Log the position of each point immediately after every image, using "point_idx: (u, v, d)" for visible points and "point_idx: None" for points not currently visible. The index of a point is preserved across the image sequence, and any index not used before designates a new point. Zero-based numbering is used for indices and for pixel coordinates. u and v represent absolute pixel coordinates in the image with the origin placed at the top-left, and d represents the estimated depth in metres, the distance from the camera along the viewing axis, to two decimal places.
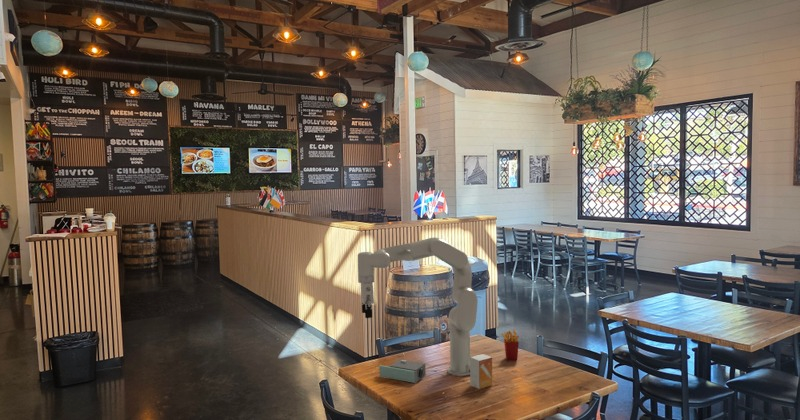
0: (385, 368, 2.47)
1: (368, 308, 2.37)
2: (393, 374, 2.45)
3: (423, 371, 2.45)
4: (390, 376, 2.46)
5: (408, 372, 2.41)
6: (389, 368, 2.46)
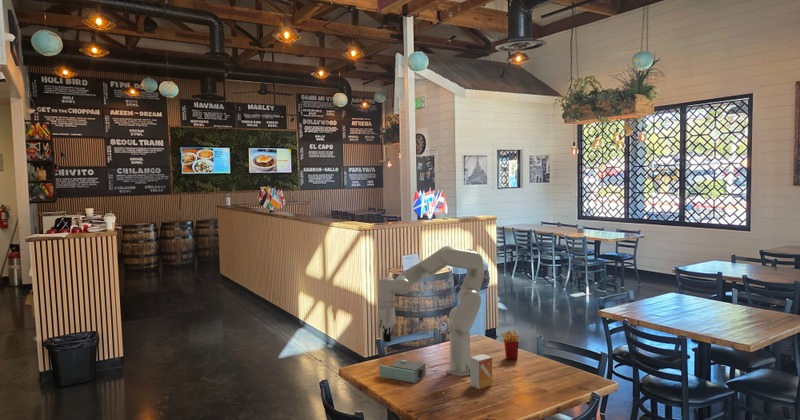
0: (385, 368, 2.47)
1: None
2: (393, 374, 2.45)
3: (423, 371, 2.45)
4: (390, 376, 2.46)
5: (408, 372, 2.41)
6: (389, 368, 2.46)
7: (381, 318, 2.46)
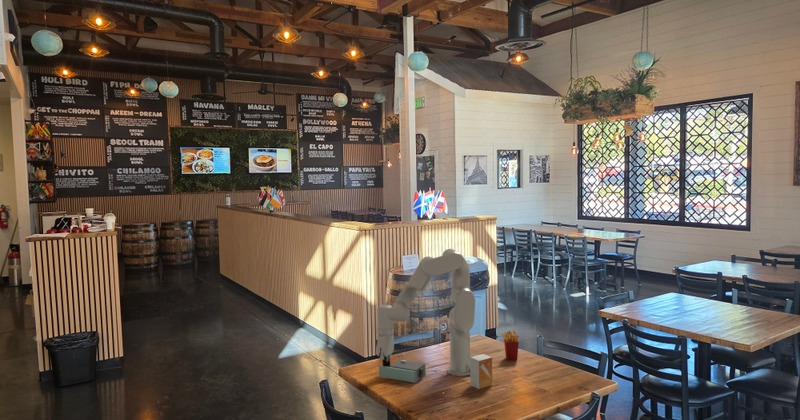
0: (385, 368, 2.47)
1: None
2: (393, 374, 2.45)
3: (423, 371, 2.45)
4: (390, 376, 2.46)
5: (408, 372, 2.41)
6: (389, 368, 2.46)
7: (381, 346, 2.45)
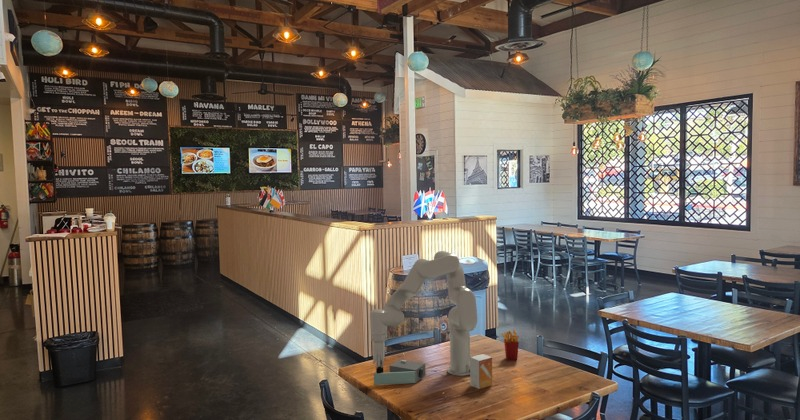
0: (381, 375, 2.39)
1: None
2: (390, 379, 2.39)
3: (423, 371, 2.45)
4: (387, 382, 2.39)
5: (408, 373, 2.40)
6: (386, 374, 2.39)
7: (378, 353, 2.36)
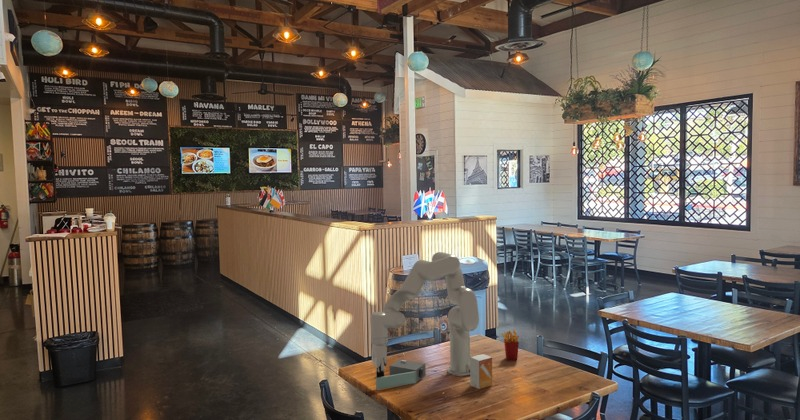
0: (383, 379, 2.34)
1: None
2: (392, 382, 2.36)
3: (423, 371, 2.45)
4: (389, 385, 2.35)
5: (408, 374, 2.39)
6: (388, 377, 2.35)
7: (382, 356, 2.31)
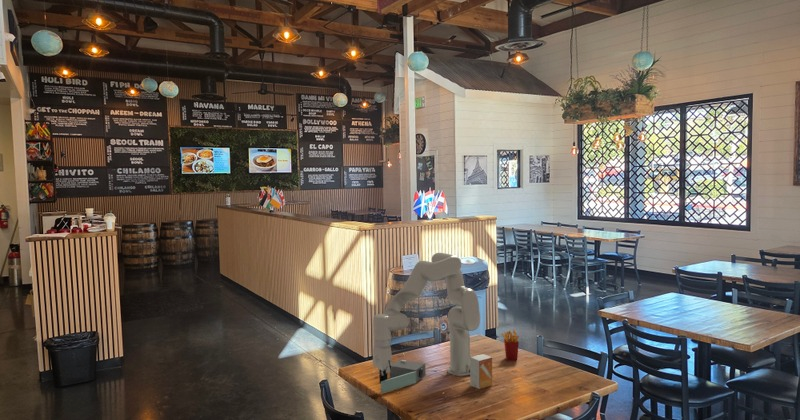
0: (388, 381, 2.31)
1: None
2: (396, 384, 2.33)
3: (423, 371, 2.45)
4: (393, 388, 2.32)
5: (410, 375, 2.38)
6: (392, 379, 2.32)
7: (388, 359, 2.27)
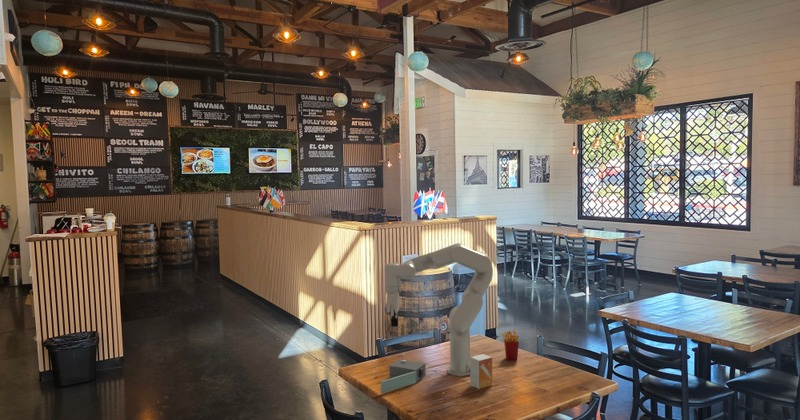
0: (388, 381, 2.31)
1: None
2: (396, 384, 2.33)
3: (423, 371, 2.45)
4: (393, 388, 2.32)
5: (410, 375, 2.38)
6: (392, 379, 2.32)
7: (391, 303, 2.49)
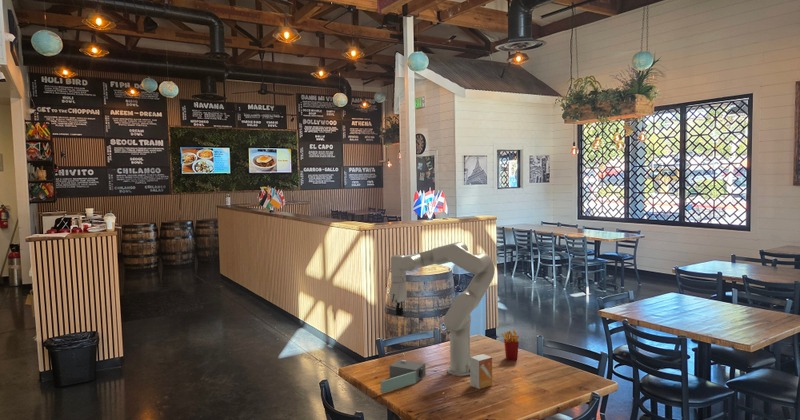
0: (388, 381, 2.31)
1: None
2: (396, 384, 2.33)
3: (423, 371, 2.45)
4: (393, 388, 2.32)
5: (410, 375, 2.38)
6: (392, 379, 2.32)
7: (394, 293, 2.61)
